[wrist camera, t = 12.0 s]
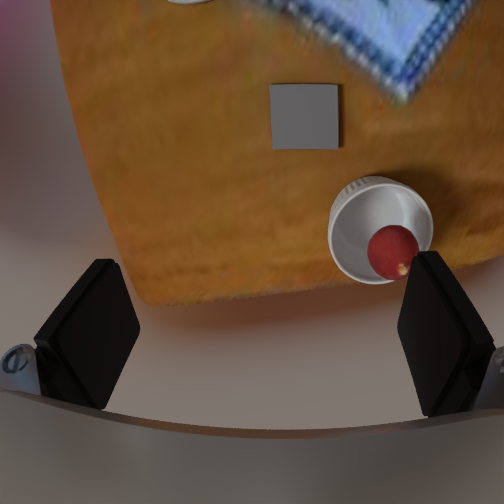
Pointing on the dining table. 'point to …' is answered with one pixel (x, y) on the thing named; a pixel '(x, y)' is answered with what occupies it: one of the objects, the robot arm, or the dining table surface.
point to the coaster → (304, 116)
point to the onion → (392, 252)
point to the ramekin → (373, 222)
